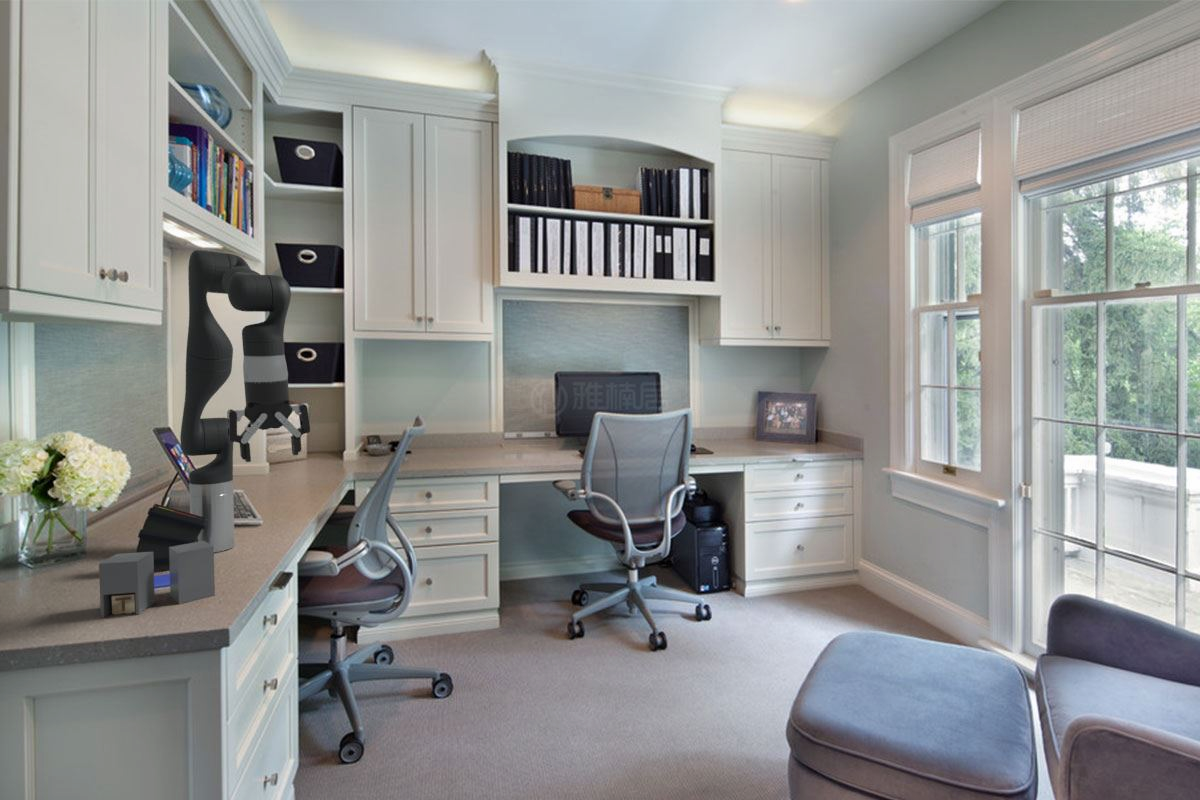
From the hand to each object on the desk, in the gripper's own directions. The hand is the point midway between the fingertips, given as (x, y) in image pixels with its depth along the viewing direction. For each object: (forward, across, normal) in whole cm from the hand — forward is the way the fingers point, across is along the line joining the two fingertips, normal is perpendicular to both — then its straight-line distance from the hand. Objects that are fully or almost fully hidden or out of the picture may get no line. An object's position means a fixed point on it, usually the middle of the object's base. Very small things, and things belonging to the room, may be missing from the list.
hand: (272, 457), depth 118 cm
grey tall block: (+28, +15, -6) cm, 32 cm away
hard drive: (+29, +20, -18) cm, 40 cm away
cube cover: (+27, +25, -6) cm, 37 cm away
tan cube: (+27, +25, -6) cm, 37 cm away
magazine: (+30, +16, -29) cm, 45 cm away
